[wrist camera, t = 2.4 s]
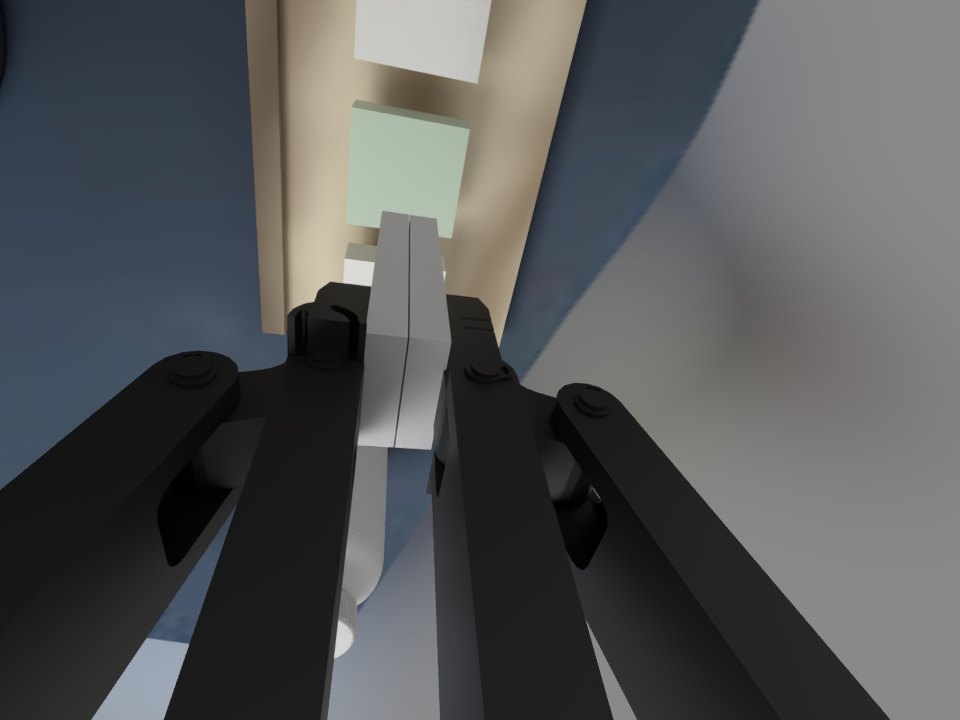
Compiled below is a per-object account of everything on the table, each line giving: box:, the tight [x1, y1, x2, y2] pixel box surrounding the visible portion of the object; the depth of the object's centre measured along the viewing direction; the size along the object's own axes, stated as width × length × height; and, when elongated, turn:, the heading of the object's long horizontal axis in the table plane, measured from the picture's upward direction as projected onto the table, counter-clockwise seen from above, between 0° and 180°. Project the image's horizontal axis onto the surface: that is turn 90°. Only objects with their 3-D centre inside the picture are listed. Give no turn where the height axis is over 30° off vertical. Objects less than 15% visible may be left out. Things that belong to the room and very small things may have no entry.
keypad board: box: [245, 0, 587, 347], centre depth 24 cm, size 14×28×3 cm, turn 169°
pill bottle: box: [334, 445, 388, 658], centre depth 31 cm, size 8×8×15 cm
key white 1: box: [343, 242, 446, 286], centre depth 26 cm, size 5×5×2 cm
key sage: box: [346, 100, 470, 239], centre depth 23 cm, size 5×5×2 cm
